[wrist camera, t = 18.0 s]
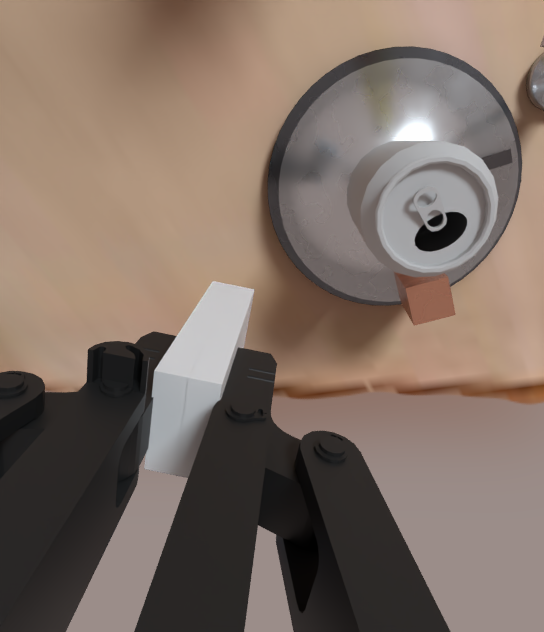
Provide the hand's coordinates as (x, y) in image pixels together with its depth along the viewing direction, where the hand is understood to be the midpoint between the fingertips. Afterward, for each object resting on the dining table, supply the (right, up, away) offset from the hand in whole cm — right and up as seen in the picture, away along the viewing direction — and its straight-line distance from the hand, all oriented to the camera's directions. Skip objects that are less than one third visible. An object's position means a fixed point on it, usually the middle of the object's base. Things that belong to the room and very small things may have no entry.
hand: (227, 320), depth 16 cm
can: (+11, +10, +19) cm, 24 cm away
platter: (+11, +10, +20) cm, 25 cm away
